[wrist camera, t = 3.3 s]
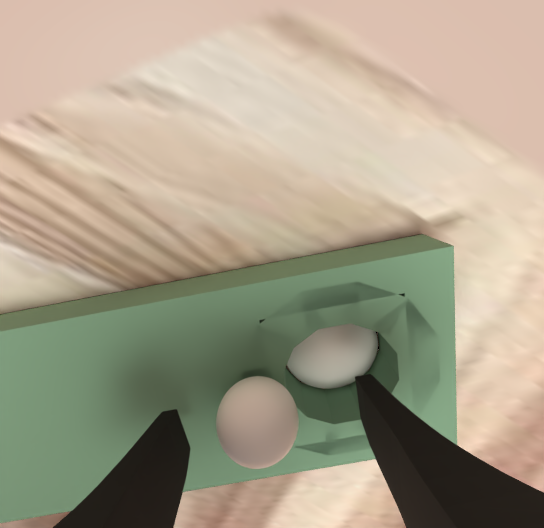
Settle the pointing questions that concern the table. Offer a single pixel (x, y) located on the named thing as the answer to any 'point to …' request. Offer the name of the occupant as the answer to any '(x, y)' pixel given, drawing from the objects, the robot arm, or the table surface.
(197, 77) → the table surface
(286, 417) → the ball
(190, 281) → the putting strip
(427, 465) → the robot arm
